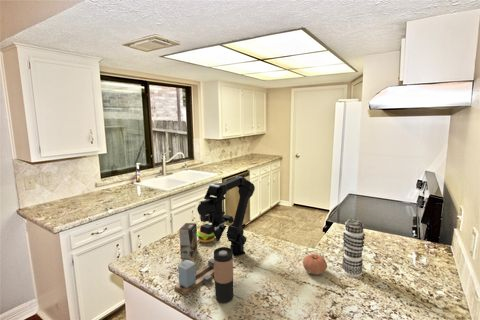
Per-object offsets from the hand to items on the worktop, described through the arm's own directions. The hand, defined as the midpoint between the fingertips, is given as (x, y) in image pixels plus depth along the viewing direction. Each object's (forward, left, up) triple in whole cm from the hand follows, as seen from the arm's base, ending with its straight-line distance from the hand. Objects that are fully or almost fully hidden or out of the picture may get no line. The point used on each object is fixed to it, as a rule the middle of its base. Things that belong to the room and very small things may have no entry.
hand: (218, 240), depth 129 cm
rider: (+19, +9, -13) cm, 25 cm away
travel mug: (+8, +23, -13) cm, 28 cm away
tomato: (-36, +29, -13) cm, 48 cm away
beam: (+12, +7, -13) cm, 19 cm away
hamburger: (-6, -30, -13) cm, 33 cm away
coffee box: (+9, -18, -13) cm, 24 cm away
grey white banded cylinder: (-51, +38, -13) cm, 65 cm away
